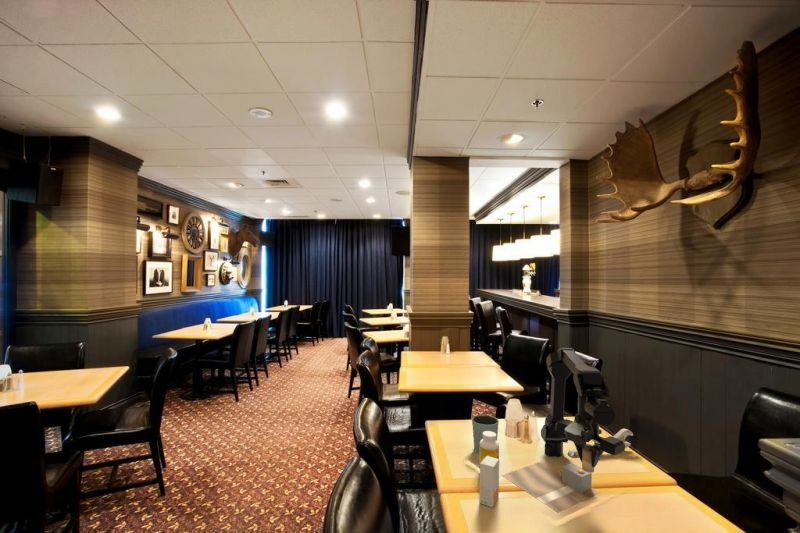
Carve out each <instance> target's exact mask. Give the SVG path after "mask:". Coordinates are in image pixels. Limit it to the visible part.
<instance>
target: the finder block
mask: <svg viewBox="0 0 800 533" xmlns="http://www.w3.org/2000/svg"><path fill="white" fill-rule="evenodd" d="M561 472H562V482H563V483H565V484H566V485H568V486H570V487H572V488H573V489H575V490H577V491H579V492H580V493H583V492H585V491H588V490H590V489H592V488H593V487H592V480H593V478H592V476H593V474H592V473H593V472H586V471H584V470H583V469H582V466H579V465H577V464H575V463H572V462H571V463H569V464H566V465H563V466H561Z"/></svg>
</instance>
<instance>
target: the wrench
mask: <svg viewBox="0 0 800 533" xmlns="http://www.w3.org/2000/svg"><path fill="white" fill-rule="evenodd" d="M628 436H634V433H633V432H632V431H631V430H629V429H627V428H622V429H620V430H618V431H617V433H615V435H613V436H612V437H615V438H617V439H620V440H622V441H623V442H624V444H625V450H626V449H627V448H628V447H630V446H631V443H630V442H628V441H626V438H627V437H628ZM590 445H594V443H592V444H591V443H590ZM572 455H574V456H576V457H577V456H578V457H579V455H578V452H577V449H576V448H574V449H570V450H568V452H567V456H568V457H570V458H571V457H572Z"/></svg>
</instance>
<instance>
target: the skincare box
mask: <svg viewBox="0 0 800 533" xmlns="http://www.w3.org/2000/svg"><path fill="white" fill-rule="evenodd" d="M499 482H500V458H499V459H497V458H493V457H490V456H486V457H485V458H484V459H483V461H482V462H481V463H480V468H479V504H481V505H484V506H487V507H489V508H494V505H495V504H496V503H497V500H498V499H499V493H500V492H499V490H500V489H499V486H500V484H499Z"/></svg>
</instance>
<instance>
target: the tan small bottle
mask: <svg viewBox="0 0 800 533" xmlns="http://www.w3.org/2000/svg"><path fill="white" fill-rule="evenodd" d="M590 446H592V445H591V443H586V444H584V447H583V448H582V462H581V468H582V469H583V470H584V471H586V472H591V473H594V472H595V467H594V468H593V467H592V450H591V448H590Z"/></svg>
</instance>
